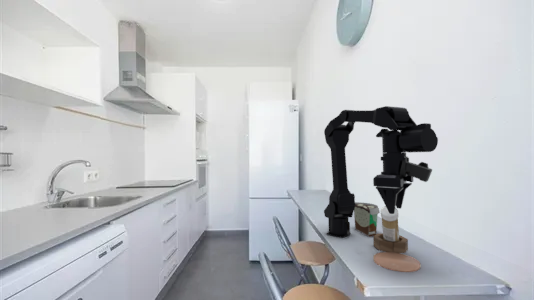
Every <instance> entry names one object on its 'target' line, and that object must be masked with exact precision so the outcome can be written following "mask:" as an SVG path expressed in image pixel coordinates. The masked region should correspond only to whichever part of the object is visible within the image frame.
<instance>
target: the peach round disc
mask: <svg viewBox="0 0 534 300" xmlns="http://www.w3.org/2000/svg"><path fill="white" fill-rule="evenodd" d="M373 262H374V263H375V264H376V265H377V266H379V267H381V268H384V269H387V270H390V271H393V272H400V273H413V272H418V271H420V269H421V262H420V261H419V260H418V259H417V258H415V257H412V256H410V255H407V254H406V253H395V252H384V251H381V252H376V253H375V254H374V255H373Z"/></svg>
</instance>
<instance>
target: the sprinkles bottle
mask: <svg viewBox="0 0 534 300" xmlns="http://www.w3.org/2000/svg"><path fill="white" fill-rule="evenodd" d="M380 217H381V227H382V228H381V229H382V233H383V237H384V240H387V241H392V242H393V241H399V235H400V230H399V210H398V208H397V207H395V212H394V214H390V213H389V212H388V209H387V207H386V205H385V206H383V207H382V208H380Z"/></svg>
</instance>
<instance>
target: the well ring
mask: <svg viewBox="0 0 534 300" xmlns="http://www.w3.org/2000/svg"><path fill="white" fill-rule="evenodd" d="M372 237H373V247H374V248H376V249H377V250H378V251H381V252H395V253H400V254H406V253H407V251H408V249H409V239H408V238H406V237H404V236H403V235H400V234H399V241H393V242H392V241H387V240H384V237H383V232H382V233H381V232H379V233H376V235H374V236H372Z"/></svg>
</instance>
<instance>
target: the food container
mask: <svg viewBox="0 0 534 300" xmlns="http://www.w3.org/2000/svg"><path fill="white" fill-rule="evenodd" d="M355 204H356V205H355V208H354V211H353V217H354V228H355V230H356V231H357V232H360V233H361V234H363V235H365V236H367V237H368V238H370V237H373V236H374V235H376V234H377V227H378V226H377V225H378V224H377V223H378V214H381V211H380V208H379V206H378V205H377V204H374V203H370V202H369V203H368V202H356V201H355Z"/></svg>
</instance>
